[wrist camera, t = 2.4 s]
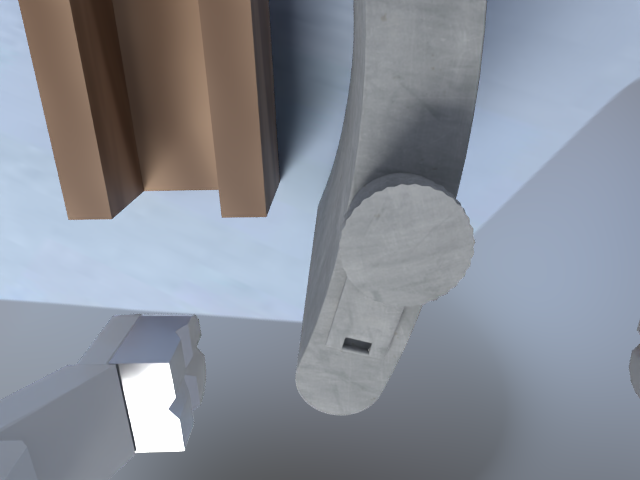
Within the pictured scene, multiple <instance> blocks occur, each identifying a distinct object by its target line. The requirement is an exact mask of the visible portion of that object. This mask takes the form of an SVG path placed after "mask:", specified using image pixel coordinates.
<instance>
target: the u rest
mask: <svg viewBox="0 0 640 480" xmlns="http://www.w3.org/2000/svg"><path fill="white" fill-rule="evenodd" d="M18 1H19V6H20V10H21V14H22V19H23V23H24V28H25V32H26V36H27V41H28V45H29V49H30V54H31V58H32V62H33V67H34V71H35V75H36V80H37V84H38V89H39V93H40V97H41V102H42V106H43V110H44V115H45V119H46V123H47V128H48V132H49V136H50V141H51V145H52V150H53V154H54V158H55V163H56V167H57V171H58V176H59V180H60V184H61V189H62V193H63V197H64V202H65V206H66V211H67V215H68V219H69V220H83V219H113V218H114V217H115V216H116V215H117V214H118V213H119V212H121V211H122V210H123V209H124V208H125V207H126V206H127V205H129V204H130V203H131V202H132V201H133V200H134V199H135V198H137V197H138V196H139V195H140V194H141V193H142V192H143V191H170V190H219V196H220V206H221V215H222V218H225V217H267V214H268V211H269V209H270V206H271V204H272V201H273V198H274V196H275V193H276V191H277V188H278V185H279V183H280V176H279V160H278V144H277V127H276V111H275V95H274V79H273V63H272V46H271V30H270V14H269V0H18Z"/></svg>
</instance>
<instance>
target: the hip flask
mask: <svg viewBox="0 0 640 480" xmlns="http://www.w3.org/2000/svg"><path fill="white" fill-rule="evenodd" d="M353 8H354V42H353V58H352V69H351V79H350V87H349V94H348V100H347V106H346V112H345V117H344V122H343V128H342V133H341V137H340V141H339V146H338V150H337V153H336V157H335V161H334V164H333V167H332V170H331V174H330V177H329V179H328V182H327V185H326V188H325V190H324V193H323V195H322V198H321V200H320V202H319V205H318V210H317V217H316V225H315V232H314V240H313V248H312V255H311V263H310V270H309V278H308V285H307V293H306V300H305V308H304V315H303V323H302V331H301V338H300V347H299V353H298V361H297V368H296V377H295V379H296V386H297V389H298V391H299V393H300V395H301V396H302V398H303V399H304V400H305V401H306V402H307V403H308V404H309V405H310V406H312V407H314V408H315V409H317V410H319V411H322V412H324V413H328V414H332V415H349V414H355V413H358V412H360V411H363V410H365V409H367V408H368V407H370V406H371V405H372V404H373V403H375V402H376V401H377V399H378V398H379V397H380V395H381V393H382V392H383V390H384V388H385V386H386V384H387V382H388V380H389V379H390V377H391V374H392V373H393V371H394V369H395V367H396V365H397V363H398V360H399V359H400V357H401V355H402V353H403V351H404V349H405V347H406V344H407V342H408V340H409V337H410V335H411V333H412V330H413V328H414V325H415V323H416V321H417V319H418V316H419V313H420V311H421V308H422V305H424V304H426V303H427V302H429V301H434V300H437V299H438V298H439V297H440V296H443V295H445V294H447V293H448V292H449V291H450V289H452V288H453V287H456V285H457V284H458V282H459V281H460V280H461V279H462V278H463V277H464V276H465V272H466V270H467V269H468V268H469V267H470V264H471V258H472V256H473V254H474V250H473V246H474V243H475V240H474V237H473V228H472V226H471V225H470V220H469V217H468V216H467V215H466V214H465V211H464V209H463V208H462V207H461V204H460V202H458V200H456V196H457V192H458V188H459V184H460V180H461V175H462V171H463V167H464V162H465V158H466V153H467V148H468V143H469V137H470V132H471V127H472V121H473V116H474V110H475V103H476V97H477V90H478V84H479V78H480V70H481V60H482V51H483V42H484V33H485V21H486V8H487V0H354V4H353Z"/></svg>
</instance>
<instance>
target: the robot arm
mask: <svg viewBox="0 0 640 480" xmlns="http://www.w3.org/2000/svg"><path fill="white" fill-rule="evenodd" d="M637 331H638V333H639V334H640V321H639V325H638V328H637ZM200 337H201V330H200V324H199V319H198V318H197V316H196V315H176V314H144V315H142V314H124V315H123V314H121V315H115V316H112V317H111V319H110V320H109V321H108V323H107V324H106V325H105V327H104V328H103V329H102V331H101V332H100V333H99V335H98V336H97V337H96V339H95V340H94V341H93V343H92V344H91V346H90V347H89V348H88V349H87V351H86V352H85V353H84V355H83V356H82V357H81V359H80V360H79V361H78V363H77V364H76V365H66V366H64V367H62V368H60V369H59V370H57V371H55V372H53V373H51V374H49V375H47V376H45V377H43V378H41V379H39V380H38V381H36V382H34V383H32V384H30V385H28V386H26V387H24V388H22V389H20V390H19V391H16V392H14V393H13V394H10V395H9V396H7V397H5V398H3V399H1V400H0V480H109V479H110V478H111V477H112V476H113V475H114V474H115V473H116V472H117V471H118V470H119V469H121V468H122V467H123V466H124V465H125V464H126V463H127V462H128V461H129V460H130V459H132V458H133V457H134V456H135V452H157V451H184V450H185V448H186V445H187V442H188V439H189V436H190V433H191V431H192V428H193V425H194V418H193V410H195V409H196V408H197V407H199V406H200V405H201V402H202V399H203V395H204V390H205V382H206V365H205V357H204V354H203V353H202V352H201V351H200V350H199V349H198V348H197V345H198V342H199V340H200ZM629 371H630V378H631V383H632V385H633V388H634V390H635V392H636V394H637V395H638V396H639V398H640V344H639V345H638V346H637V347H636V348H635V349H634V350H633V351H632V354H631V359H630V364H629Z"/></svg>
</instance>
